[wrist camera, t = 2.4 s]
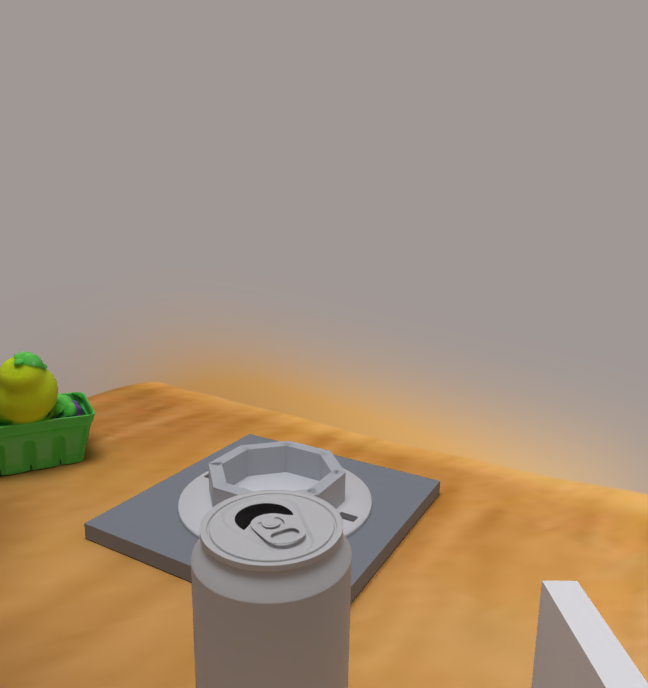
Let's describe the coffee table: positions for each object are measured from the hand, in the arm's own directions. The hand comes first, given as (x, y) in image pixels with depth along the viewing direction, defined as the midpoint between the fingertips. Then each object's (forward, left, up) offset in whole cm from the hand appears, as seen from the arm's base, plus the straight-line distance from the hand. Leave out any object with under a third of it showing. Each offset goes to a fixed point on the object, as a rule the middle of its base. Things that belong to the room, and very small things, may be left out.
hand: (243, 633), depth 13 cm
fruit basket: (-42, +23, -15) cm, 50 cm away
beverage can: (-5, +9, -15) cm, 18 cm away
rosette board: (-17, +27, -15) cm, 35 cm away
